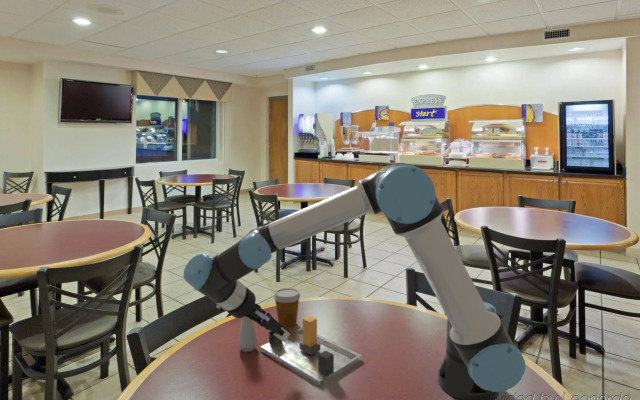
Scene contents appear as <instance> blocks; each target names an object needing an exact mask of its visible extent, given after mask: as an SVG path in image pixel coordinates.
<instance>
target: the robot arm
mask: <svg viewBox="0 0 640 400" xmlns="http://www.w3.org/2000/svg"><path fill="white" fill-rule="evenodd" d="M444 212H445V211H444V208H443V207H442V204H441V203H440V201H439V199H438V197H437V194H436V188H435V185H434V182H433V180H432V178H431V177H430V175H428V173H427V172H426V171H424V170H423V169H422V168H420V167H418V166H416V165H413V164H410V163H408V164H407V163H404V162H394V163H390V164H387V165H385V166H383V167H382V168H381V169H379V170H378V171H377V170H376V172H374V173H372V174H370V175H368V176H366V177H363V178H362V179H359V180H358V182H357V185H356V186H353V187H350V188H348V189H347V190H343V191H342V192H339V193H336V194H334V195H332V196H330V197H327V198H325V199H323V200H321V201H319V202H316V203H314V204H311V205H309V206H307V207H304V208H301V209H300V210H297V211H295V212H293V213H290V214H288V215H286V216H284V217H283V216H282V217H281V218H278V219H277V220H275V221H272V222H270V223H269V224H266V225H263V226H258V227H255V228H253V229H251V230H249V232H248V233H247V234H245V235H244V236H243V237H242V238H241V239H240V240H238V241H237V242H236V243H234V244H233V245H232V246H229V247H228V248H227V249H225V250H223V251H222V252H220V253H219V254H216V255H215V256H213V257H211V256H210V255H208V254H206V253H200V254H196V255H194V256H193V257H192V258H191V259H190V260H189V261H188V262H187V264H186V265H185V267H184V269H183V279H184V281H185V282H186V283H188V284H189V285H190V286H191V287H192V288H193V289H194V290H195V291H197V292H199V293H200V294H202V295H204V296H205V297H207V298H208V299H209V300H211V301H212V302H213V303H215V304H216V309H220V308H222V309H223V310H225V311H226V312H227V313H228V314H229V315H231V316H232V317H234V318H235V319H241V318H242V317H245V316H246V317H248V318H249V319H251V320H253V322H255V323H256V324H258V325H260V327H261V328H265V330H266V331H268V332H269V331H270V334H271V335H275V336H276V337H278V338H279V339H280V340H282V341H284V342H286V340H287V339H288V337H289V335H290V333H291V332H290V331H289V332H288V331H287V329H286V328H283V327H282V325H281V324H279V322H278V320H276V319H275V318H274V317H273V316H272V314H271V313H269V312H266V311H265V310H264V309H262V307H261V305H259V304H258V303H256V301H257V299H256V294H255V293H254V292H253V291H252V290H250V288H248V287H247V286H246V285H245V284H243V282H242V281H240V279H241V278H243V277H245V276H247V275H248V274H250V273H252V272H254V271H256V270H257V269H260V268H262V267H263V266H264V265H265V264H266V263H269V261H271V258H272V255H273V254H275V253H276V252H278V251H281V250H283V249H284V248H288V247H289V246H293V245H295V244H297V243H299V242H301V241H304V240H307V239H309V238H312V237H314V236H316V235H319V234H321V233H324V232H325V231H329V230H331V229H333V228H335V227H338V226H340V225H343V224H346V223H347V222H351V221H352V220H355V219H357V218H361V217H362V216H364V215H367V214H370V215H373V216H375V215H377V214H379V213H383V214H384V215H385V218H386V219H387V222H388V223H389V225H390V228H391V229H392V231H393V232H394V234H395V235H396V236H399V237H402V238H404V239H405V241H406V243H407V244H408V247H409V248H410V250H411V252H412V254H413V256H414V257H415V260H416V262H417V263H418V265H419V267H420V269H421V271H422V273H423V275H424V276H425V278H426V280H427V282H428V283H429V286H430V288H431V289H432V291H433V294H434V295H435V297H436V299H437V301H438V303H439V304H440V307H441V308H442V311H443V312H444V314H445V316H446V318H447V320H446V321H447V323H446V342H445V355H444V358H443V360H442V362H441V365H440V367H439V369H438V371H437V372H438V374H437V381H438V385H439V386H440V388H441V389H442V390H443V391H444V392H445V393H447V394H448V395H450V396H451V397H453V398H455V399H458V400H496V398H498V396H499V392H505V391H508V390H510V389H512V388H514V387H515V386H517V385H518V384H519V383H520V382H521V381H522V380H523V379H522V378H523V376H524V375H525V372H526V367H527V365H526V361H525V358H524V356H523V353H522V351H521V350H520V349H519V348H518V347H517V346H515V344H514V342H513V341H512V338H511V337H510V336H509V333H508V331H507V330H506V328H505V325H504V324H503V321H502V319H501V318H500V317H499V315H498V314H497V309H496V306H494V305H493V304H491V303H488V302H486V301H483V298H482V297H481V295H480V293H479V291H478V289H477V288H476V286H475V284H474V282H473V279H472V277H471V276H470V273H469V272H468V270H467V268H466V267H465V264H464V262H463V260H462V259H461V257H460V255H459V252H458V251H457V249H456V247H455V245H454V243H453V241H452V240H451V238H450V235H449V234H448V232H447V230H446V228H445V226H444V224H443V223H442V217H443V214H444Z"/></svg>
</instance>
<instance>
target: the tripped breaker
mask: <svg viewBox="0 0 640 400" xmlns="http://www.w3.org/2000/svg"><path fill="white" fill-rule="evenodd" d="M302 327H303V342H301V343H300V349H301V350H302V351H304V352H306V353H308V354H310V355H312V354H314V353H316V352H318V351H320V344H319V343H317V334H318V328H317V327H318V319H317V317H313V316H311V315H309V316H306V317H304V318H302Z"/></svg>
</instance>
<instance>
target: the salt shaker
mask: <svg viewBox="0 0 640 400" xmlns="http://www.w3.org/2000/svg"><path fill="white" fill-rule="evenodd" d="M240 319H241V320H240V321H241V322H240V331H239V335H238V336H239V337H238V346H239V347H240V350H241V351H242V352H244V353H250V352H253V351H254V349H255V347H256V345H257V343H258V339H257V334H256V330H255V329H256V328H255V325H254V321H253V320H251V319H249V318H248V317H246V316H245V317H242V318H240Z"/></svg>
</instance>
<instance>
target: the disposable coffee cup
mask: <svg viewBox="0 0 640 400" xmlns="http://www.w3.org/2000/svg"><path fill="white" fill-rule="evenodd" d="M300 298H301V294H300V291H299V290H298V289H296V288H291V287H289V288H288V287H287V288H286V287H284V288H280V289H278V290H275V292H274V295H273V299H274V301H275V306H276V314H277V322H278V323H279V324H281V325H282V328H283V329H289V328H294V327H295V326H296V325H297V321H298V312H299V311H298V309H299V302H300Z"/></svg>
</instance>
